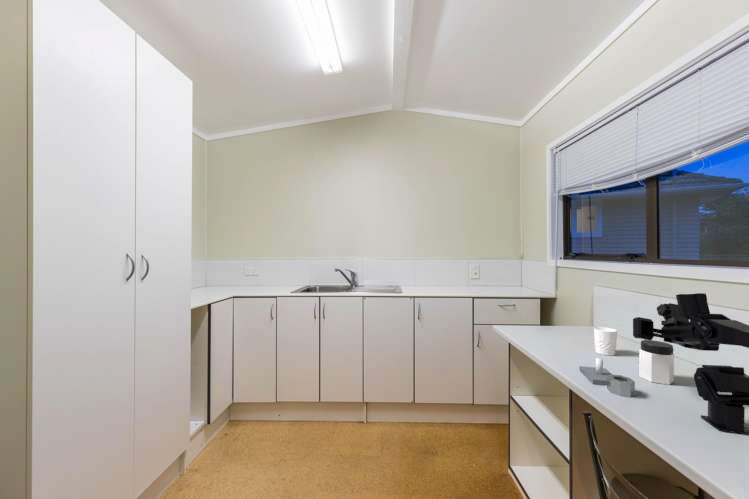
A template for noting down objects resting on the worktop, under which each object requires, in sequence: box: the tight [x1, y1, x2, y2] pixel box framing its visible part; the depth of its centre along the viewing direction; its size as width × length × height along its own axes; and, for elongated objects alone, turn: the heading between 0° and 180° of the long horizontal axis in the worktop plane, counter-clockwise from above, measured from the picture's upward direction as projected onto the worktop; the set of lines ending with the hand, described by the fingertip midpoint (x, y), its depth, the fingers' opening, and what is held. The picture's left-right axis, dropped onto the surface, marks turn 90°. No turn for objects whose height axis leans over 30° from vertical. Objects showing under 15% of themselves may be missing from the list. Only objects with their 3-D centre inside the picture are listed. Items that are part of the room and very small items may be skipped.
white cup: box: [593, 326, 618, 357], centre depth 133 cm, size 8×8×10 cm
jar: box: [638, 339, 675, 386], centre depth 107 cm, size 9×8×12 cm
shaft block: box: [578, 357, 614, 387], centre depth 108 cm, size 12×8×6 cm, turn 165°
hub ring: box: [606, 373, 636, 398], centre depth 98 cm, size 6×6×4 cm
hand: (649, 334), depth 104 cm, fingers open, 9 cm apart
